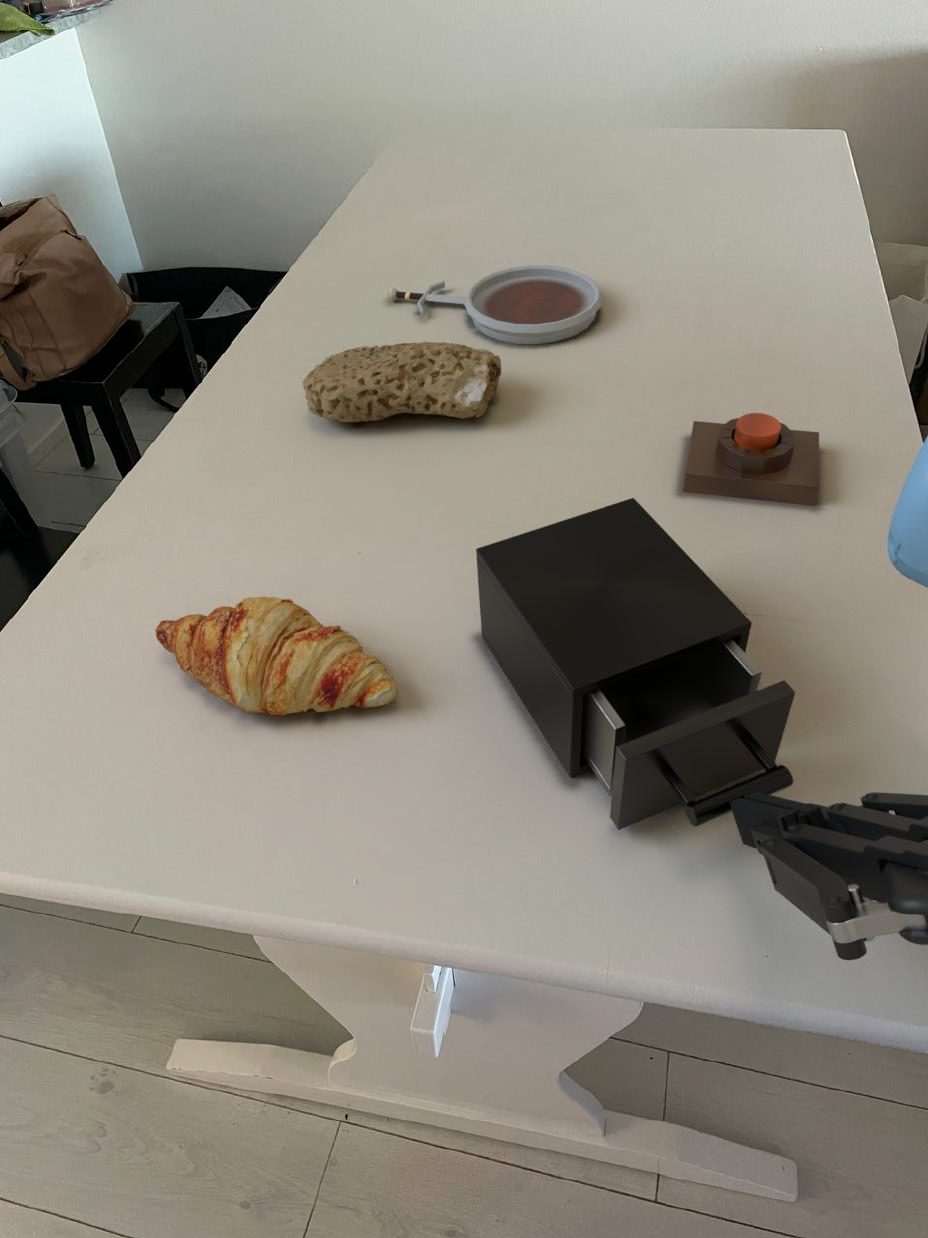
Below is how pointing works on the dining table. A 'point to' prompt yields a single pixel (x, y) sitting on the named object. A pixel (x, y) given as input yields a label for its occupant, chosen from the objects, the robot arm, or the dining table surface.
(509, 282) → the frying pan
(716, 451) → the control block
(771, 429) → the button
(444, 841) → the dining table surface
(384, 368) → the sponge
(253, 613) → the croissant
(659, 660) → the black drawer unit
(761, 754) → the open drawer with handle
